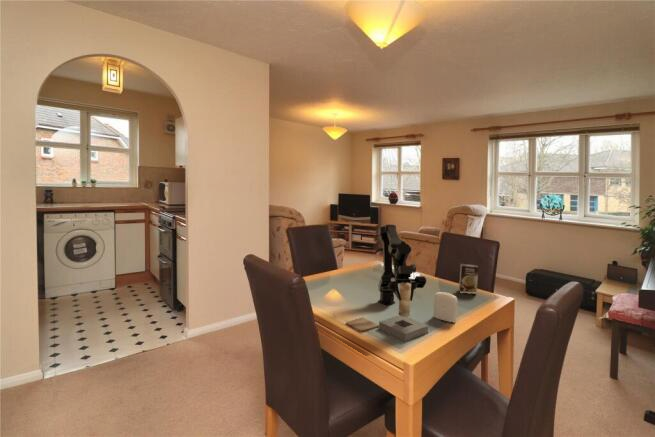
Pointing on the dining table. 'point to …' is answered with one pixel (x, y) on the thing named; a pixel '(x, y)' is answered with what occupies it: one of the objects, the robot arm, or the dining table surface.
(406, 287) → the dowel
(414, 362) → the dining table surface
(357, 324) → the mat
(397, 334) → the holder
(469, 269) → the coffee box
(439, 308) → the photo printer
